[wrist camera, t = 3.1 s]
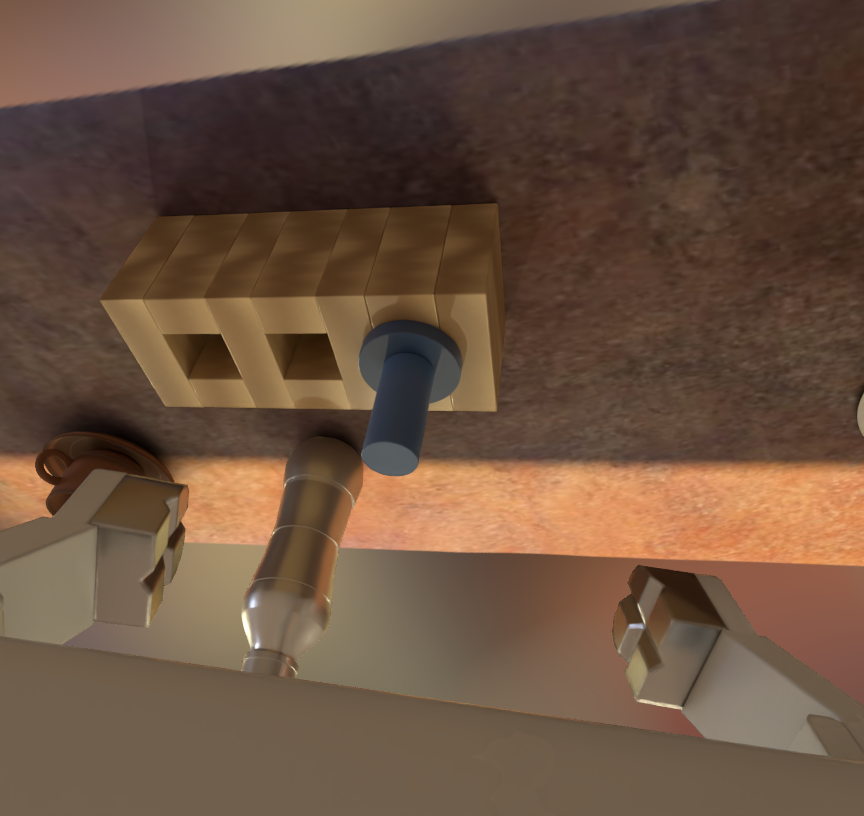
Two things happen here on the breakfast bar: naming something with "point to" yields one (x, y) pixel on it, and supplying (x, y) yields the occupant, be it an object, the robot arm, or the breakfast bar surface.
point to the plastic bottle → (301, 557)
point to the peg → (404, 389)
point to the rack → (308, 302)
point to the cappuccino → (91, 462)
